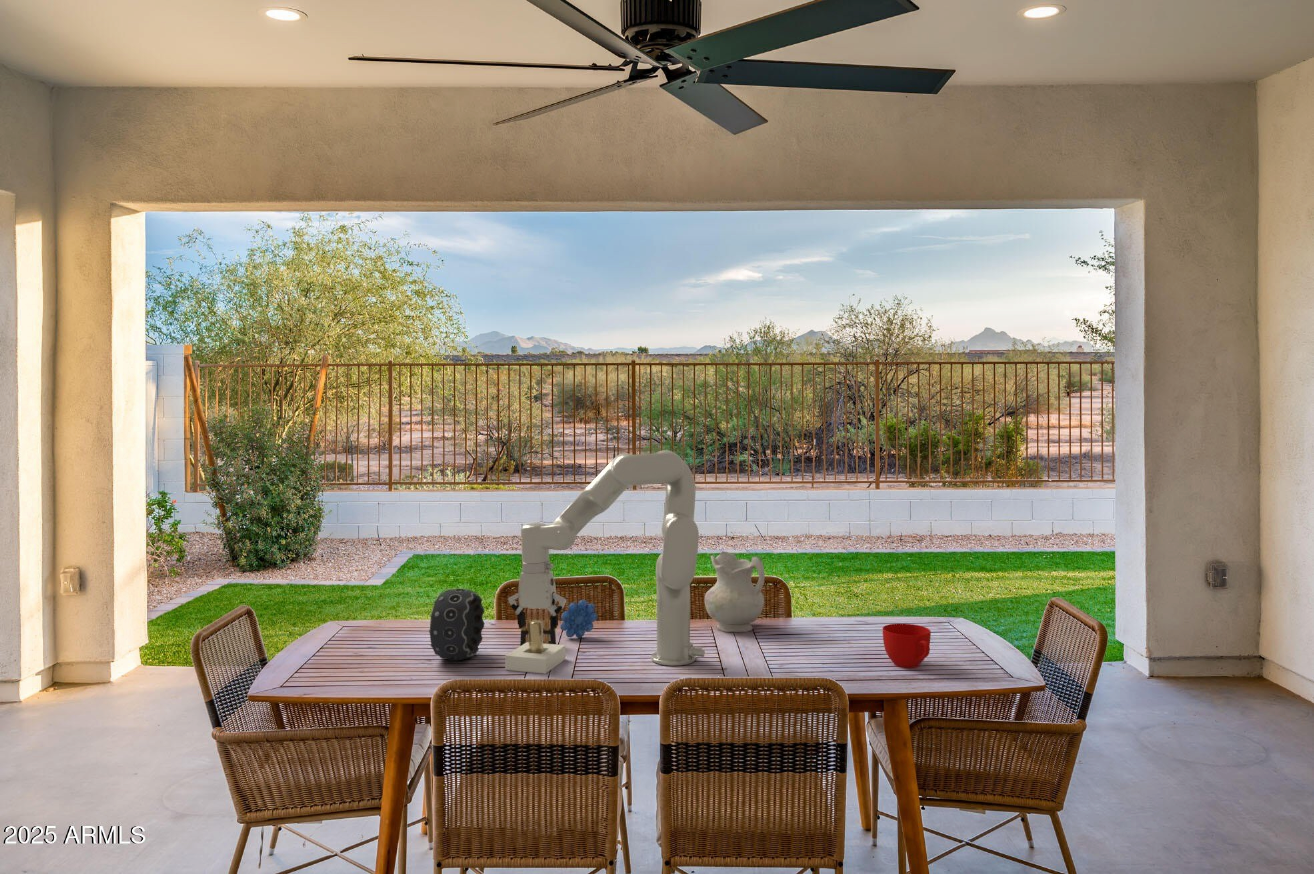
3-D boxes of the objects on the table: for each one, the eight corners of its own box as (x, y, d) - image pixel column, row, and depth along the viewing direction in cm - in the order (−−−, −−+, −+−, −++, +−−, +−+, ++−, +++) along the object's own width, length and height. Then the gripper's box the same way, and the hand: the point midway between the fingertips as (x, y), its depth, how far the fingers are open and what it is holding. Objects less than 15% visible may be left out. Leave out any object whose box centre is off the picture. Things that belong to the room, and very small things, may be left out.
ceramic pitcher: (779, 630, 281) (781, 554, 282) (753, 639, 264) (756, 558, 265) (721, 622, 292) (723, 549, 293) (693, 630, 276) (695, 552, 277)
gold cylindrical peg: (545, 662, 242) (545, 620, 241) (539, 667, 238) (539, 624, 238) (532, 661, 243) (532, 619, 242) (526, 665, 239) (526, 623, 239)
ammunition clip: (520, 647, 258) (519, 607, 257) (520, 645, 259) (520, 606, 259) (555, 646, 258) (555, 607, 258) (556, 645, 260) (556, 606, 259)
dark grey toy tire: (427, 668, 237) (426, 596, 236) (451, 648, 257) (451, 582, 256) (464, 669, 236) (464, 597, 235) (486, 649, 256) (486, 582, 255)
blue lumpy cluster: (595, 633, 273) (595, 596, 273) (598, 638, 267) (598, 600, 266) (559, 635, 271) (559, 597, 271) (561, 640, 265) (560, 602, 264)
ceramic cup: (906, 677, 228) (907, 640, 228) (873, 660, 244) (873, 625, 244) (948, 673, 231) (949, 637, 231) (913, 656, 248) (913, 622, 247)
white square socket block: (565, 659, 245) (565, 645, 245) (545, 673, 232) (545, 659, 232) (527, 655, 249) (527, 642, 249) (505, 669, 235) (505, 655, 235)
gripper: (569, 565, 241) (571, 626, 241) (513, 564, 246) (515, 623, 246) (559, 571, 233) (561, 633, 234) (501, 569, 238) (503, 630, 239)
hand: (537, 628), depth 240 cm, fingers open, 9 cm apart
